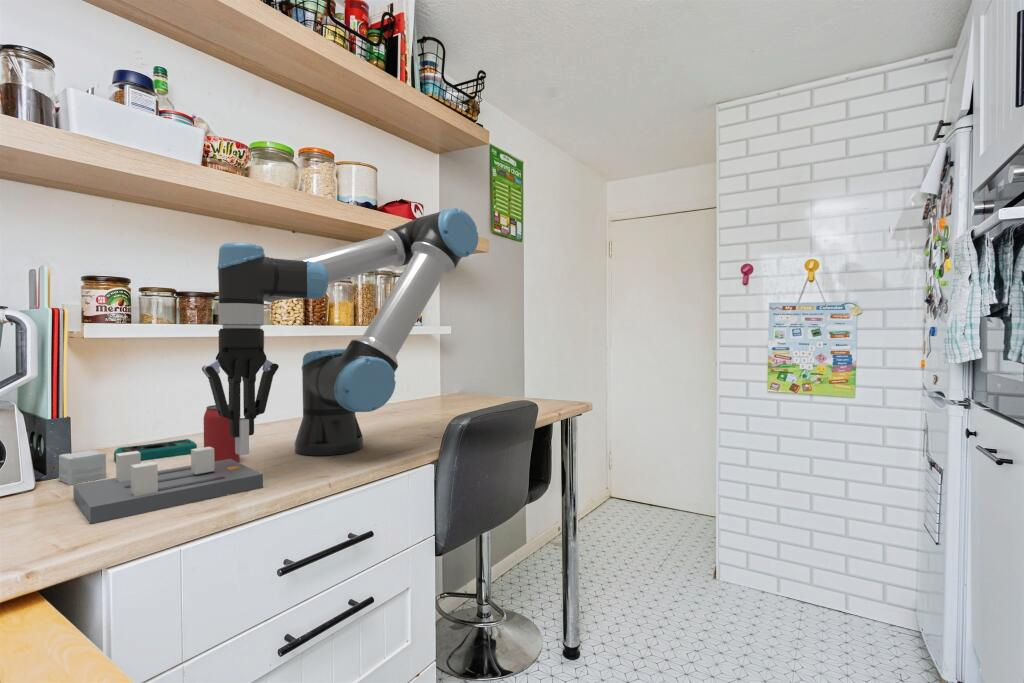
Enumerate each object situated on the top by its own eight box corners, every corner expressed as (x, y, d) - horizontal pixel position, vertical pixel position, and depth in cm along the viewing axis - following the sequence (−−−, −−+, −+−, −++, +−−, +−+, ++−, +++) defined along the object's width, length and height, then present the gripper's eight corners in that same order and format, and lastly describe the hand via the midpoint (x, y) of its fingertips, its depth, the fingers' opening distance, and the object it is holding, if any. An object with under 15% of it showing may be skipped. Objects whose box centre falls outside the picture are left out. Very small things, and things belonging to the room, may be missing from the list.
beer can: (242, 463, 109) (242, 406, 109) (206, 468, 105) (206, 409, 105) (236, 457, 114) (235, 403, 114) (201, 462, 110) (200, 405, 110)
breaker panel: (230, 470, 103) (230, 436, 103) (263, 487, 92) (262, 449, 92) (73, 499, 86) (72, 458, 86) (90, 523, 75) (89, 476, 75)
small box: (107, 478, 98) (106, 452, 98) (69, 486, 94) (68, 458, 93) (95, 474, 101) (95, 448, 101) (58, 481, 97) (57, 454, 97)
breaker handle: (210, 468, 94) (209, 446, 94) (214, 470, 93) (214, 448, 93) (191, 471, 92) (190, 449, 92) (195, 474, 91) (195, 451, 90)
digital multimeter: (112, 460, 114) (112, 447, 114) (190, 449, 124) (190, 437, 124) (116, 467, 108) (116, 452, 108) (198, 455, 118) (198, 442, 118)
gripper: (269, 327, 104) (269, 445, 105) (195, 327, 95) (196, 456, 95) (285, 327, 99) (285, 451, 99) (209, 326, 90) (210, 463, 90)
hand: (242, 453), depth 97 cm, fingers closed
